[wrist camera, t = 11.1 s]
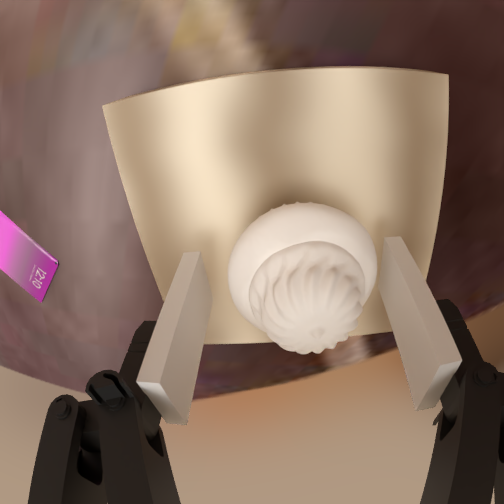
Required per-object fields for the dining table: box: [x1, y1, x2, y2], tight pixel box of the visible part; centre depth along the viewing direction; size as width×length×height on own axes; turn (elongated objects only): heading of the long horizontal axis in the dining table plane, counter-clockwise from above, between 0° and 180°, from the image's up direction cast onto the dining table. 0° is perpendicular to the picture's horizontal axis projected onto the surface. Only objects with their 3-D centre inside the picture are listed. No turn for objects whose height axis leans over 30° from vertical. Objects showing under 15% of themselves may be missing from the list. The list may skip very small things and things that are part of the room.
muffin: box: [228, 201, 377, 354], centre depth 13 cm, size 6×6×7 cm
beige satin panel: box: [102, 66, 449, 344], centre depth 18 cm, size 16×16×4 cm
